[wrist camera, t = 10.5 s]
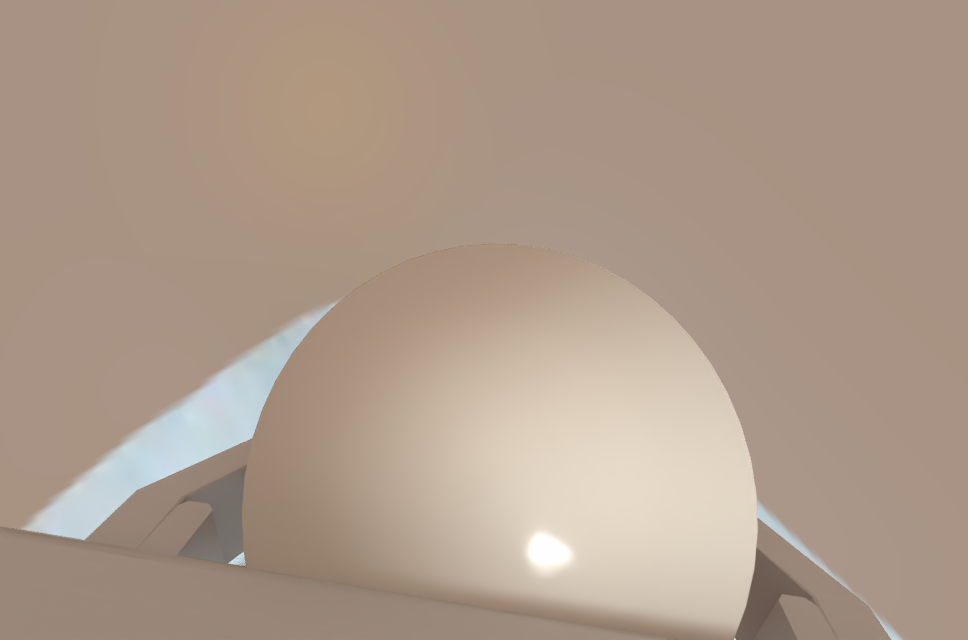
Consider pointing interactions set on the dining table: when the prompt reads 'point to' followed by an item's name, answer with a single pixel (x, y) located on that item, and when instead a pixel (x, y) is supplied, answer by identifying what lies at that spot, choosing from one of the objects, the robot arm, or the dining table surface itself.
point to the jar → (508, 449)
